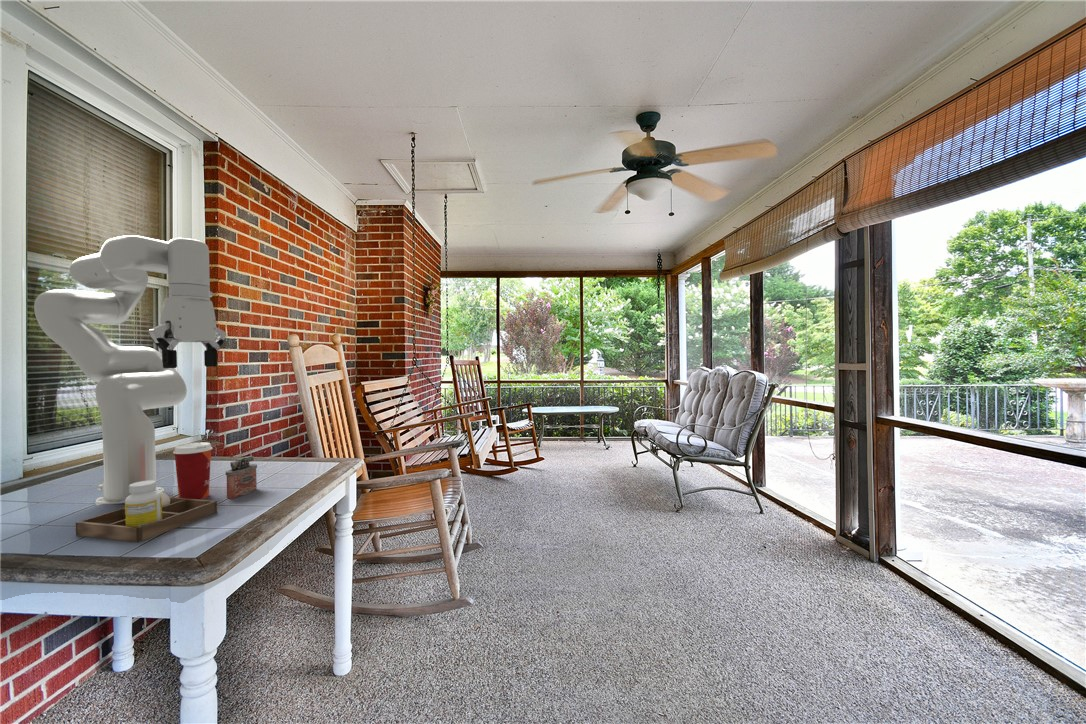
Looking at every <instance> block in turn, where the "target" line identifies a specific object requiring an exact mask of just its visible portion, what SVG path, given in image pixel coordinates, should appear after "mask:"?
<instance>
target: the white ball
mask: <svg viewBox="0 0 1086 724" xmlns="http://www.w3.org/2000/svg"><path fill="white" fill-rule="evenodd" d="M160 493H161V503H162V507H163V506H166V505H169V504H170V502H171V501H170V497H171V496H169V495H168V494H167V493H165V492H160Z"/></svg>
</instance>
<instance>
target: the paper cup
mask: <svg viewBox="0 0 1086 724" xmlns="http://www.w3.org/2000/svg"><path fill="white" fill-rule="evenodd" d="M212 450H213V447H212V445H211V443H210V442H205V441H204V442H202V441H201V442H190V443H183V444H179V445H177V446H175V447H174V450H173V452H172V454H173V455H174V460H175V471H176V472H175V473H176V479H177V481H176V482H177V483H176V484H177V492H178V498H186V499H198V500H204V499H205V498H206V499H207V498H208V497H209V496H210V479H211V477H210V476H211V457H212Z"/></svg>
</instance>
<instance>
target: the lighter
mask: <svg viewBox="0 0 1086 724" xmlns="http://www.w3.org/2000/svg"><path fill="white" fill-rule="evenodd" d="M254 458H255V457H254V456H253V455H249V456H245V457H242V458H241V457H239V458H235V460H234V461H230V468H231V469H228V470H226V471H225V476H226V498H227V499H236V498H238V497H242V496H245V495H248V494H250V493H253V492H255V491H257V487H258V486H257V483H258V481H257V468H258V464H257V463H253V464H252V463H251V462H253V461H254V460H255V459H254ZM250 463H251V464H250Z"/></svg>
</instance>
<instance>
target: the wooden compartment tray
mask: <svg viewBox="0 0 1086 724" xmlns="http://www.w3.org/2000/svg"><path fill="white" fill-rule="evenodd" d="M169 497H170V501H171V502H170V504H169V505H166V506H163V507H162V520H159V521H157V522H154V523H151V524H148V525H145V526H143V527H130V526H126V519H125V506H124V507H122V508H118V509H114V510H111V511H109V512H105V513H101V514H98V515H95V516H92V517H89V518H86V519H83V520H82V519H81V520H78V521H75V536H79V537H80V536H81V537H87V538H97V539H104V540H105V539H106V540H107V539H108V540H116V541H125V542H133V543H141V542H143V541H144V542H145V541H146V540H149V539H151V538H155V537H158V536H159V535H162V534H164V533H167V532H170V531H172V530H175V529H177V528H179V527H183V526H185V525H188V524H190V523H193V522H196V521H198V520H200V519H201V520H202V519H203V518H207V517H208V516H210V515H211V516H212V515H214V514H216V513H218V505H217V504H218V503H217V502H218V501H217V500H210V499H209V500H207V499H200V500H198V499H186V498H179V497H173V496H172V497H171V496H169Z"/></svg>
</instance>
